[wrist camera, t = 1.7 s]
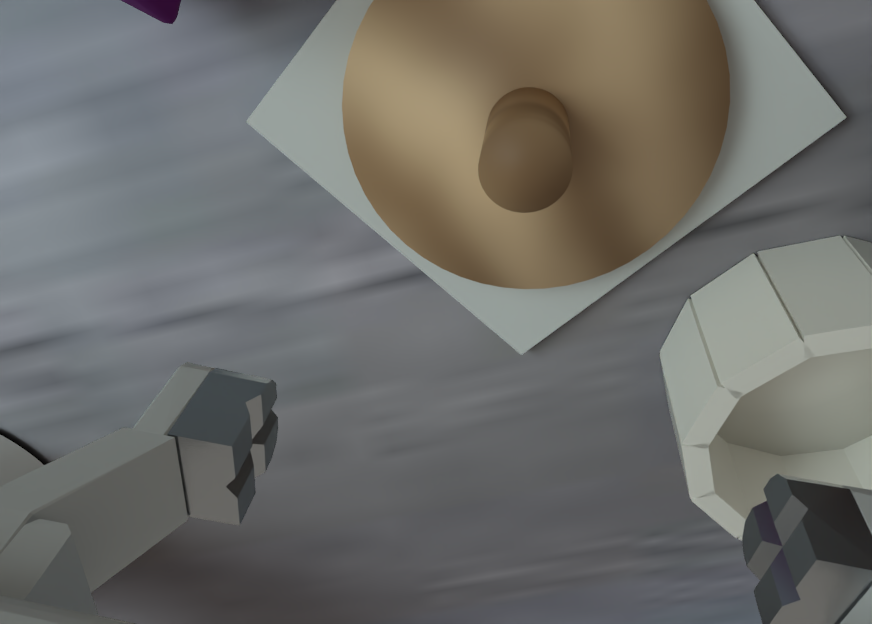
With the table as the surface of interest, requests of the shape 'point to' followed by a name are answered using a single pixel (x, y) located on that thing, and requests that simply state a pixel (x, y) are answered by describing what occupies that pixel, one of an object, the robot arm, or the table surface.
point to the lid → (534, 129)
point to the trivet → (552, 307)
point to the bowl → (774, 375)
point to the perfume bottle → (158, 8)
